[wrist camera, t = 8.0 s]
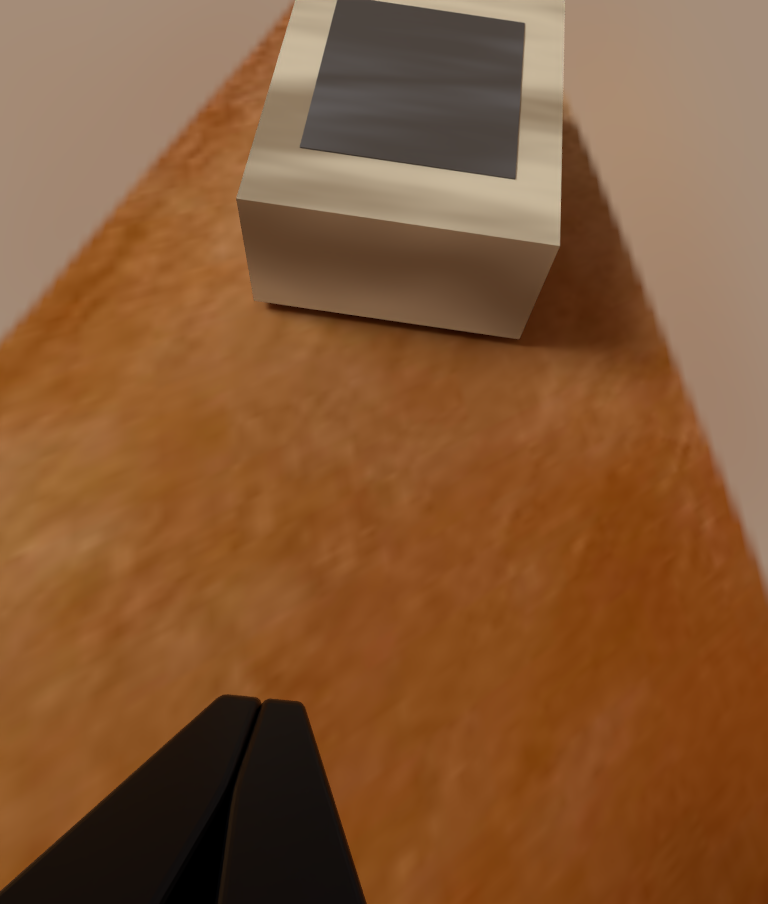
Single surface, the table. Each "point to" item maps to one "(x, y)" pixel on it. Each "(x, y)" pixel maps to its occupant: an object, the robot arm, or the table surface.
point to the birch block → (410, 162)
